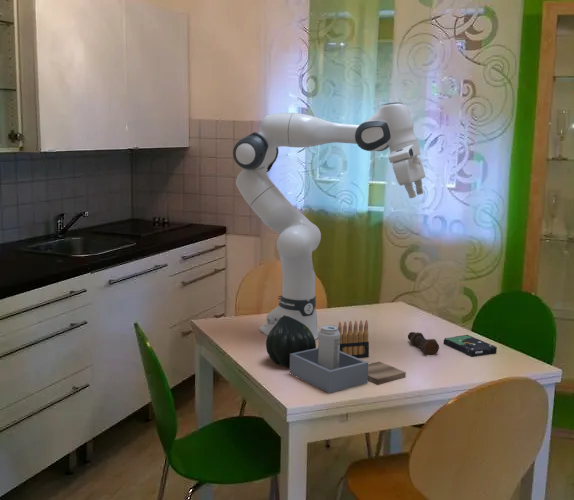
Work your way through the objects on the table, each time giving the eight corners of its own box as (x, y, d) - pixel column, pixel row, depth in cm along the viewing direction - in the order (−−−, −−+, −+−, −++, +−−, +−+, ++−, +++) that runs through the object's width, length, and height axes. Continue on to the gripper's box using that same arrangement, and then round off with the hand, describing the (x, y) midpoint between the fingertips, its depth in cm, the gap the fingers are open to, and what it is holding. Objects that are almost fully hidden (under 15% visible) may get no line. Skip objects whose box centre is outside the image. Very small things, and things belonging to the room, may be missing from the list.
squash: (322, 354, 197) (313, 308, 205) (272, 358, 194) (265, 312, 202) (313, 372, 209) (305, 328, 217) (266, 377, 206) (259, 332, 214)
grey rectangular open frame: (289, 373, 196) (289, 353, 195) (326, 364, 205) (327, 345, 204) (329, 393, 182) (329, 371, 181) (367, 382, 190) (368, 362, 189)
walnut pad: (351, 373, 198) (351, 368, 198) (378, 366, 204) (379, 361, 204) (377, 384, 189) (377, 379, 189) (405, 377, 196) (405, 372, 195)
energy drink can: (320, 373, 197) (322, 323, 195) (340, 376, 195) (342, 326, 193) (314, 380, 191) (316, 329, 189) (335, 383, 189) (337, 331, 187)
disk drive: (497, 355, 219) (466, 341, 232) (497, 347, 219) (467, 334, 232) (471, 359, 215) (442, 345, 228) (472, 350, 214) (442, 337, 227)
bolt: (413, 346, 230) (433, 359, 216) (401, 340, 229) (420, 352, 215) (421, 331, 230) (442, 343, 216) (410, 325, 229) (429, 336, 215)
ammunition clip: (337, 360, 209) (338, 322, 207) (334, 358, 211) (336, 320, 209) (368, 357, 212) (370, 320, 210) (366, 355, 214) (368, 318, 212)
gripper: (404, 153, 222) (415, 194, 223) (386, 157, 203) (398, 202, 204) (423, 148, 219) (434, 189, 220) (406, 152, 201) (418, 197, 202)
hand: (416, 196), depth 212 cm, fingers open, 8 cm apart
